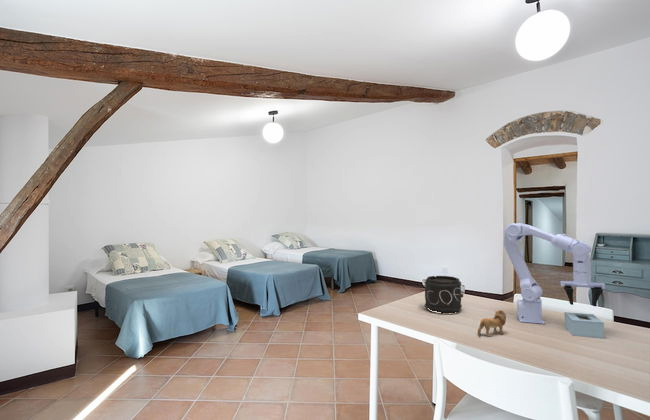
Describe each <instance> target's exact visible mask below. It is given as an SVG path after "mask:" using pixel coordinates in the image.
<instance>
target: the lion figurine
mask: <svg viewBox="0 0 650 420" xmlns="http://www.w3.org/2000/svg"><path fill="white" fill-rule="evenodd" d="M506 320H507V314H506V312H505V311H504V310H502V309H497V310H496V311H495V314H494V317H491V318H488V317H485V318H482V319H481V320H480V323H479V326H478V327H479V328H478V329H477V335H478V337H481V335H482V329H483V328H485V334H486V335H487V337H489V338H491V337H492V336H493V335H492V334H490V329H491V328H492V329H493V333H495V334H497V333H499V335H500V336H501V335H502V336H503V335H504V333H503V327H504V325H506ZM497 328H499V331H497Z"/></svg>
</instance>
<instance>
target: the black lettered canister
mask: <svg viewBox="0 0 650 420" xmlns="http://www.w3.org/2000/svg"><path fill="white" fill-rule="evenodd" d="M424 285H425V287H424V300H425V301H424V302H425V303H424V307H426V309H427V308H429V309H430V310H432V311H437V312H441V313H455V312H459V313H460V311H461V310H462V306H463V305H462V298H464V293H462V282H461V281H460V278H458V277H454V276H449V275H436V276H435V275H432V276H427V277H426V279H425V280H424ZM459 310H460V311H459Z"/></svg>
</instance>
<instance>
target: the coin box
mask: <svg viewBox="0 0 650 420" xmlns="http://www.w3.org/2000/svg"><path fill="white" fill-rule="evenodd" d="M563 314H564V316H563V317H564V327H565V328H566V330H567V331H568V332H569V333H570V334H571V335H572V336H577V337H586V338H587V337H588V338H598V339H605V322H604V321H603V320H601V319H600V318H598V317H597V315H595V314H593V313H592V314H591V313H581V312H579V313H578V312H570V311H569V312H564V313H563ZM579 318H585V319H586V320H584V319H579Z"/></svg>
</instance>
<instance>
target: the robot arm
mask: <svg viewBox="0 0 650 420" xmlns="http://www.w3.org/2000/svg"><path fill="white" fill-rule="evenodd" d="M503 232H504V237H503V247H504V249H505V251H506V253H507V255H508V257H509V260H510V262H511V265H512V266H513V269H514V271H515V273H516V275H517V277H518V280H519V287H520V294H521V297H522V299H517V301H516V306H517V307H516V309H517V311H516V312H517V313H516V315H517V319H518V321H519V322H520V323H531V324H544V325H545V323H546V322H545V321H544V320H543V307H542V306H543V305H542V303H543V302H542V299H541V297H542V296H543V294H544V292H543V288H542V287H541V286H540V285H539V284H538V283H537V280H535V278H534V277H533V276H532V274H531V271H530V270H529V267H528V265H527V263H526V261H525V258H524V257H523V254H522V252H521V250H520V248H519V245H518V243H519V242H520V241H521V239H522V238H523V237H525V236H533V237H537V238H539V239H542V240H545V241H548V242H551V244H552V246H553V247H555V248H557V249H561V250H563V251H565V252H568V253H572V254H573V256H572V257H573V259H572V268H573V269H572V270H573V271H572V272H573V275H572V276H573V280H560V286H561V287H563V289H564V291H565V293H566V295H567V298H568V302H569V304H570V306H571V305H574V289H573V288H587V289H589V288H590V291H591V306H593V307H597V303H598V300H599V299H600V297H601V295H602V293H603V292H604V290H605V289H606V284H605V283H604V282H595V281H594V282H593V281H592V271H591V269H592V268H591V266H592V265H591V264H592V262H591V255H590V254H591V252H592V246H591V245H590V244H589V243H588V242H586V241H580V239H578V238H576V239H574V238H572V237H569V236H567V234H566V233H557V234H553V233H551V232H547V231H545V230H543V229H541V228H538V227H536V226H533V225H530V224H526V223H523V222H516V223H512V222H511V223H509V224H508V225H506V227H505V229H504V230H503ZM603 289H604V290H603Z"/></svg>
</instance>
